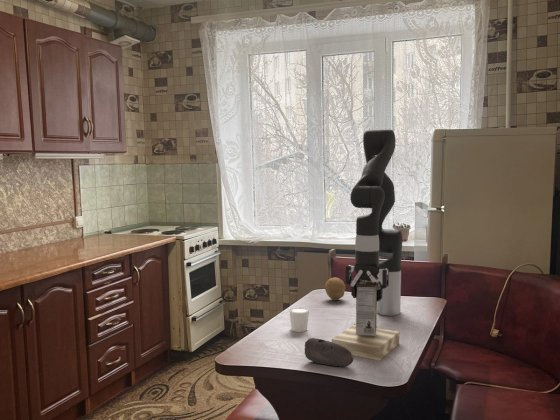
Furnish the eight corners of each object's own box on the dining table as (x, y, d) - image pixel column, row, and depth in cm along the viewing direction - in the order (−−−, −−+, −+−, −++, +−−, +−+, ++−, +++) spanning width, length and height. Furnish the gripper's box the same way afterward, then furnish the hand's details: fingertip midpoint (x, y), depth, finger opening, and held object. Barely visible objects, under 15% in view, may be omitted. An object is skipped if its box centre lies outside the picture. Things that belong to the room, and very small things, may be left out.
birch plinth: (354, 335, 191) (354, 324, 191) (399, 343, 183) (399, 331, 182) (331, 351, 176) (331, 338, 175) (379, 360, 167) (379, 347, 167)
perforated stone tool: (356, 366, 163) (356, 343, 162) (349, 372, 158) (349, 348, 158) (311, 357, 171) (311, 335, 170) (303, 362, 166) (303, 339, 166)
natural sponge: (328, 296, 247) (328, 274, 246) (348, 298, 243) (348, 276, 242) (322, 301, 238) (322, 278, 237) (342, 303, 235) (342, 280, 234)
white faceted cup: (312, 329, 199) (312, 310, 198) (300, 333, 194) (300, 314, 193) (298, 325, 203) (298, 306, 203) (285, 329, 198) (285, 310, 198)
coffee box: (357, 326, 184) (357, 278, 182) (376, 327, 183) (377, 279, 181) (355, 334, 175) (355, 284, 173) (376, 336, 174) (376, 285, 172)
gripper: (392, 248, 176) (392, 299, 177) (351, 245, 183) (350, 294, 185) (384, 252, 170) (383, 304, 171) (341, 248, 177) (341, 299, 178)
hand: (366, 299), depth 178 cm, fingers closed on coffee box, 7 cm apart
